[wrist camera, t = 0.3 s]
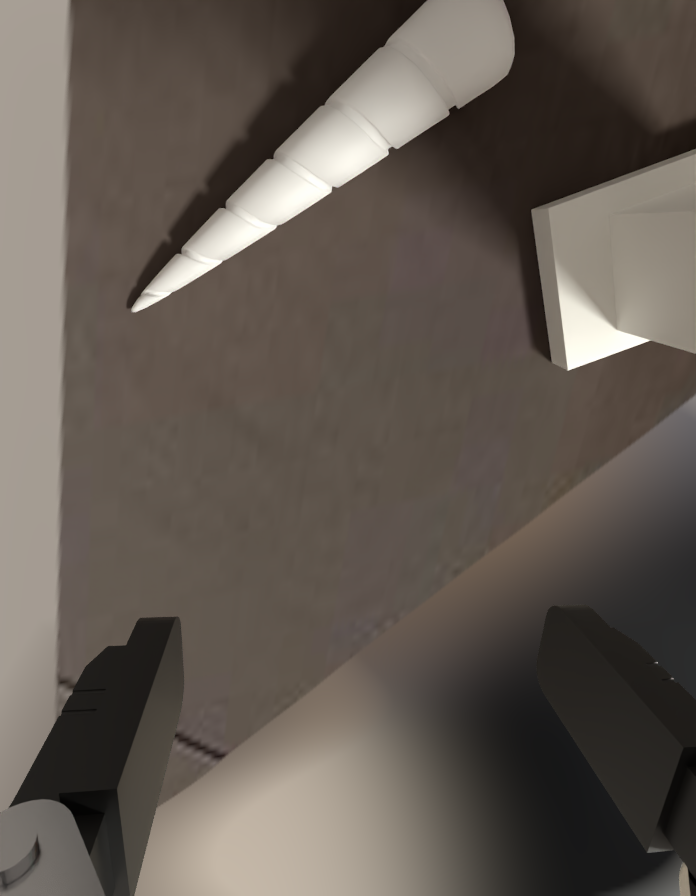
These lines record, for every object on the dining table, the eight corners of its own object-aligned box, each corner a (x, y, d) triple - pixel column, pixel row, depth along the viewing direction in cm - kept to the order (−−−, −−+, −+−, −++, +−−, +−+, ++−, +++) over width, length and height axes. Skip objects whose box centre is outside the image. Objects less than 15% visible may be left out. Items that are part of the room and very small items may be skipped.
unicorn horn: (85, 252, 27) (48, 255, 22) (456, -15, 24) (496, -69, 20) (144, 324, 29) (120, 341, 24) (493, 86, 26) (537, 56, 22)
